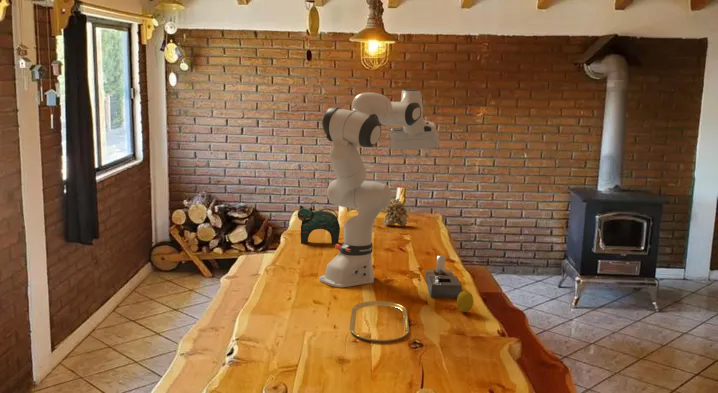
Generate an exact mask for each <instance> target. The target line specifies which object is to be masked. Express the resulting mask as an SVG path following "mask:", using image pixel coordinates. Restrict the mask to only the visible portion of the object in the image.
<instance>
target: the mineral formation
mask: <svg viewBox="0 0 718 393" xmlns="http://www.w3.org/2000/svg"><path fill="white" fill-rule="evenodd" d="M385 211H386V213H385V215H384V220H383V224H384V225H385V226H388V227H389V226H390V225H395V224H397V225H399V226H401V227H405V226H406V225H407V223H408V221H407V219H408V218H410V217H409V216H410V215H409V214H408V212H407V210H406V207H405V205H404V204H403V203H402V202H401V201H400V199H399V198H395V199H391V202H390V204H389V206H388V207H387V208H386V209H385Z"/></svg>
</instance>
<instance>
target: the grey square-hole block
mask: <svg viewBox="0 0 718 393" xmlns="http://www.w3.org/2000/svg"><path fill="white" fill-rule="evenodd" d="M462 289H463V285H462V283H461V282H460V280H459V278H458V276H457V275H454V276H428V285H427V291H428V293H429V296H430V298H431V299H457V298H458V295H459V294H460V293H461V292H462Z"/></svg>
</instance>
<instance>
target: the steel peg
mask: <svg viewBox="0 0 718 393" xmlns="http://www.w3.org/2000/svg"><path fill="white" fill-rule="evenodd" d="M445 264H446V256H445V255H444V254H443V255H442V254H437V255H436V269H435V270H436V275H444V270H446V269H445V267H446V265H445Z"/></svg>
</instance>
